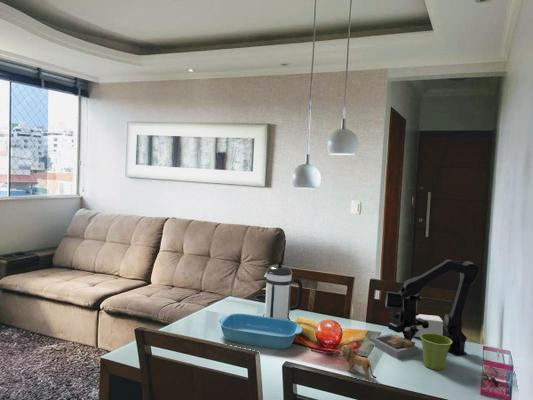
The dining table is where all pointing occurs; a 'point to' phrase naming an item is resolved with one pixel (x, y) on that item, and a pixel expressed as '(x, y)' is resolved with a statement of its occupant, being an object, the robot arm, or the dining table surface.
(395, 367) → the dining table surface
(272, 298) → the coffee press
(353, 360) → the lion figurine
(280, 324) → the casserole dish
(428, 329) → the supplement box
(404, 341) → the t block
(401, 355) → the dock
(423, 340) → the plant pot
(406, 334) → the robot arm
